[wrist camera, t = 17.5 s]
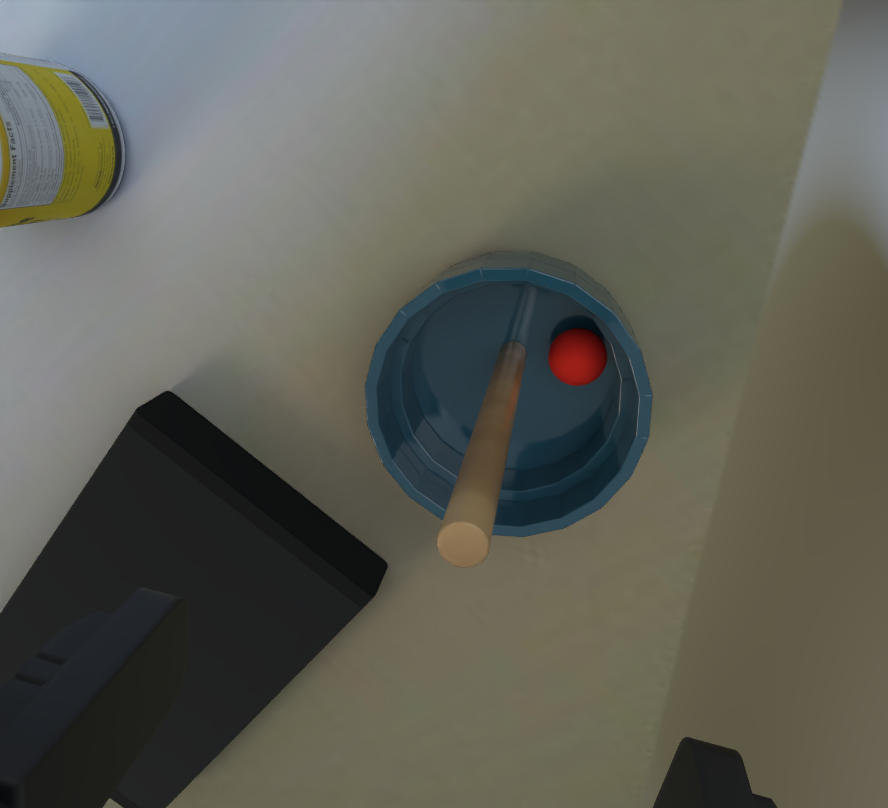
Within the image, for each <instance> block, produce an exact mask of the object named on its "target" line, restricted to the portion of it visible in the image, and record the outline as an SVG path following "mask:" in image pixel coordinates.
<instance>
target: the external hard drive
mask: <svg viewBox="0 0 888 808" xmlns="http://www.w3.org/2000/svg"><path fill="white" fill-rule="evenodd" d="M387 567H388V566H387V563H386V562H385V561H384V560H383V559H382V558H380V557H379V556H378V555H377V554H375V553H374V552H373V551H371V550H370V549H369V548H368V547H366V546H365V545H364V544H363V543H361V542H360V541H359V540H358V539H356V538H355V537H354V536H353V535H351V534H350V533H349V532H348V531H346V530H345V529H344V528H343V527H341V526H340V525H339V524H337V523H336V522H335V521H334V520H332V519H331V518H330V517H329V516H327V515H326V514H325V513H324V512H322V511H321V510H320V509H319V508H317V507H316V506H315V505H314V504H312V503H311V502H310V501H308V500H307V499H306V498H305V497H303V496H302V495H301V494H300V493H298V492H297V491H296V490H295V489H293V488H292V487H291V486H290V485H288V484H287V483H286V482H285V481H283V480H282V479H281V478H279V477H278V476H277V475H276V474H274V473H273V472H272V471H271V470H269V469H268V468H267V467H266V466H264V465H263V464H262V463H261V462H259V461H258V460H257V459H256V458H254V457H253V456H252V455H250V454H249V453H248V452H247V451H245V450H244V449H243V448H242V447H240V446H239V445H238V444H237V443H235V442H234V441H233V440H232V439H230V438H229V437H228V436H227V435H225V434H224V433H223V432H222V431H220V430H219V429H218V428H216V427H215V426H214V425H213V424H211V423H210V422H209V421H208V420H206V419H205V418H204V417H203V416H201V415H200V414H199V413H198V412H196V411H195V410H194V409H193V408H191V407H190V406H189V405H187V404H186V403H185V402H184V401H182V400H181V399H180V398H179V397H177V396H176V395H175V394H174V393H172V392H170V391H165V392H163V393H162V394H160V395H158V396H157V397H155V398H153V399H152V400H150V401H148V402H147V403H145V404H143V405H142V406H140V407H138V408H137V409H136V411H135V412H134V414H133V415H132V417H131V418H130V420H129V421H128V423H127V424H126V426H125V427H124V429H123V430H122V432H121V433H120V435H119V436H118V438H117V439H116V441H115V442H114V444H113V445H112V447H111V448H110V450H109V451H108V453H107V454H106V456H105V457H104V459H103V460H102V462H101V463H100V465H99V466H98V468H97V469H96V471H95V472H94V474H93V475H92V477H91V478H90V480H89V481H88V483H87V484H86V486H85V487H84V489H83V490H82V492H81V493H80V495H79V496H78V498H77V499H76V501H75V502H74V504H73V505H72V507H71V508H70V510H69V511H68V513H67V514H66V516H65V517H64V519H63V520H62V522H61V523H60V525H59V526H58V528H57V529H56V531H55V532H54V534H53V535H52V537H51V538H50V540H49V541H48V543H47V544H46V546H45V547H44V549H43V550H42V552H41V553H40V555H39V556H38V558H37V559H36V561H35V562H34V564H33V565H32V567H31V568H30V570H29V571H28V573H27V574H26V576H25V577H24V579H23V580H22V582H21V583H20V585H19V586H18V588H17V589H16V591H15V592H14V594H13V595H12V597H11V598H10V600H9V601H8V603H7V604H6V606H5V607H4V609H3V610H2V612H1V613H0V688H1V687H2V686H3V685H4V684H5V683H6V682H7V681H8V680H9V679H10V678H14V677H15V676H16V674H17V672H18V671H19V670H20V669H21V668H22V667H23V666H24V665H25V664H26V663H27V662H28V661H29V660H30V659H31V658H32V657H36V656H37V655H38V652H39V651H40V650H41V649H42V648H43V647H44V646H45V645H46V644H47V643H48V642H49V641H50V640H51V639H52V638H53V637H55V636H56V635H57V634H58V633H59V632H60V631H61V630H62V629H63V628H64V627H66V626H68V625H70V624H72V623H74V622H76V621H78V620H80V619H82V618H84V617H86V616H88V615H89V614H91V613H93V612H95V611H97V610H99V611H102V612H106V613H110V614H113V613H114V612H115V611H116V610H117V609H118V608H119V607H120V606H121V605H122V603H123V602H124V601H125V600H126V599H127V598H128V597H129V596H130V595H131V594H132V593H133V592H135V591H136V590H137V589H139V588H141V587H145V588H148V589H152V590H156V591H159V592H163V593H167V594H170V595H174V596H178V597H181V598H185V599H187V600H188V603H189V625H188V642H187V659H186V672H185V678H184V682H183V685H182V688H181V691H180V694H179V696H178V698H177V700H176V702H175V704H174V706H173V708H172V710H171V711H170V713H169V714H168V716H167V717H166V718H165V720H164V721H163V723H162V724H161V725H160V727H159V728H158V730H157V731H156V733H155V734H154V735H153V737H152V738H151V740H150V741H149V742H148V744H147V745H146V747H145V748H144V750H143V751H142V752H141V754H140V755H139V757H138V758H137V759H136V761H135V762H134V764H133V765H132V767H131V768H130V769H129V771H128V772H127V774H126V775H125V776H124V778H123V779H122V781H121V782H120V784H119V785H118V786H117V788H116V789H115V791H114V792H113V793H112V795H111V796H110V798H111V799H112V800H114V801H115V802H117V803H118V804H119V805H121V806H122V807H124V808H166V807H167V806H168V805H169V804H170V803H171V802H172V801H173V800H174V799H175V798H176V797H177V796H178V795H179V794H180V793H181V792H182V791H183V790H184V789H185V788H186V787H187V786H188V785H189V783H190V782H191V781H192V780H193V779H194V778H195V777H196V776H197V775H198V774H199V773H200V772H201V771H202V770H203V769H204V768H205V767H206V766H207V765H208V764H209V763H210V762H211V761H212V760H213V759H214V758H215V757H216V756H217V755H218V754H219V753H220V752H221V751H222V750H223V749H224V748H225V747H226V746H227V745H228V744H229V743H230V742H231V741H232V740H233V739H234V738H235V737H236V736H237V735H238V734H239V733H240V732H241V731H242V730H243V729H244V728H245V727H246V726H247V725H248V724H249V723H250V722H251V721H252V720H253V719H254V718H255V717H256V716H257V715H258V714H259V713H260V712H261V711H262V710H263V709H264V708H265V707H266V706H267V705H268V704H269V703H270V702H271V701H272V700H273V699H274V698H275V697H276V696H277V694H278V693H279V692H280V691H281V690H282V689H283V688H284V687H285V686H286V685H287V684H288V683H289V682H290V681H291V680H292V679H293V678H294V677H295V676H296V675H297V674H298V673H299V672H300V671H301V670H302V669H303V668H304V667H305V666H306V665H307V664H308V663H309V662H310V661H311V660H312V659H313V658H314V657H315V656H316V655H317V654H318V653H319V652H320V651H321V650H322V649H323V648H324V647H325V646H326V645H327V644H328V643H329V642H330V641H331V640H332V639H333V638H334V637H335V636H336V635H337V634H338V633H339V632H340V631H341V630H342V629H343V628H344V627H345V626H346V625H347V624H348V623H349V622H350V621H351V620H352V619H353V618H354V617H355V616H356V615H357V614H358V613H359V612H360V611H361V610H362V609H363V608H364V606H365V605H366V604H367V603H368V602H369V601H370V600H371V599H372V598H373V597H374V596H375V595H376V593H377V591H378V588H379V586H380V584H381V581H382V579H383V577H384V574H385V572H386V570H387Z"/></svg>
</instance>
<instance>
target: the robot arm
mask: <svg viewBox="0 0 888 808" xmlns="http://www.w3.org/2000/svg"><path fill="white" fill-rule="evenodd" d="M188 625H189V603H188V600H187V599H185V598H181V597H178V596H174V595H170V594H167V593H163V592H159V591H156V590H152V589H148V588H145V587H141V588H139V589H137V590H136V591H135V592H133V593H132V594H131V595H130V596H129V597H128V598H127V599H126V600H125V601H124V602H123V603H122V605H121V606H120V607H119V608H118V609H117V610H116V611H115V612H114V613H113V614H110V613H106V612H102V611H99V610H97V611H95V612H93V613H91V614H89V615H88V616H86V617H84V618H82V619H80V620H78V621H76V622H74V623H72V624H70V625H68V626H66V627H64V628H63V629H62V630H61V631H60V632H59V633H58V634H57V635H56V636H55V637H53V638H52V639H51V640H50V641H49V642H48V643H47V644H46V645H45V646H44V647H43V648H42V649H41V650H40V651H39V652H38V655H37V656H36V657H32V658H31V659H30V660H29V661H28V662H27V663H26V664H25V665H24V666H23V667H22V668H21V669H20V670H19V671H18V672H17V674H16V676H15V677H14V678H10V679H9V680H8V681H7V682H6V683H5V684H4V685H3V686H2V687H1V688H0V808H103V806H104V805H105V803H106V802H107V800H108V799H109V798H110V796H111V795H112V793H113V792H114V791H115V789H116V788H117V786H118V785H119V784H120V782H121V781H122V779H123V778H124V776H125V775H126V774H127V772H128V771H129V769H130V768H131V767H132V765H133V764H134V762H135V761H136V759H137V758H138V757H139V755H140V754H141V752H142V751H143V750H144V748H145V747H146V745H147V744H148V742H149V741H150V740H151V738H152V737H153V735H154V734H155V733H156V731H157V730H158V728H159V727H160V725H161V724H162V723H163V721H164V720H165V718H166V717H167V716H168V714H169V713H170V711H171V710H172V708H173V706H174V704H175V702H176V700H177V698H178V696H179V694H180V691H181V688H182V685H183V682H184V678H185V672H186V659H187V642H188ZM653 808H777V806H776V805H775V804H774V802H773V801H772V799H770V798H767V797H763V796H759V795H756V794H752V791H751V788H750V784H749V780H748V777H747V773H746V770H745V767H744V763H743V760H742V757H741V755H740V754H739V753H738V752H737V751H736V750H733V749H729V748H726V747H722V746H719V745H715V744H711V743H708V742H704V741H700V740H696V739H693V738H689V737H685V738H684V739H683V740H682V741H681V742H680V745H679V746H678V749H677V751H676V753H675V756H674V758H673V761H672V763H671V766H670V768H669V770H668V772H667V775H666V777H665V780H664V782H663V784H662V787H661V789H660V791H659V794H658V796H657V799H656V801H655V803H654V806H653Z"/></svg>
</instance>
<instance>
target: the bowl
mask: <svg viewBox="0 0 888 808" xmlns="http://www.w3.org/2000/svg"><path fill="white" fill-rule="evenodd" d="M573 328H584V329H588V330H590V331H592V332H594V333H595V334H597V335H598V336H599V337H600V338H601V340H602V341H603V343H604V344H605V347H606V350H607V363H606V366H605V369H604V371H603V372H602V374H601V375H600V376H599V377H598V378H597V379H596V380H594V381H593V382H591V383H589V384H586V385H581V386H573V385H569V384H566V383H564V382H562V381H560V380H559V379H558V378H557V377H556V376H555V375H554V373H553V372H552V370H551V368H550V365H549V360H548V355H549V350H550V346H551V344H552V343H553V341H554V340H555V338H556V337H557V336H558V335H559V334H561V333H562V332H564V331H566V330H569V329H573ZM509 341H517V342H519V343H521V344H522V345H523V346H524V347H525V348H526V351H527V358H526V363H525V368H524V373H523V378H522V384H521V389H520V394H519V399H518V404H517V409H516V414H515V419H514V424H513V430H512V435H511V440H510V445H509V450H508V455H507V460H506V465H505V471H504V476H503V481H502V486H501V491H500V496H499V501H498V506H497V512H496V517H495V522H494V527H493V532H492V535H501V536H516V537H526V536H531V535H535V534H540V533H544V532H549V531H554V530H558V529H563V528H566V527H568V526H570V525H572V524H573V523H575V522H577V521H579V520H581V519H583V518H584V517H586V516H588V515H590V514H592V513H593V512H595V511H597V510H599V509H601V508H602V507H603V506H604V505H605V504H606V503H607V502H608V501H609V500H610V499H611V498H612V497H613V496H614V494H615V493H616V492H617V491H618V490H619V489H620V488H621V487H622V486H623V485H624V484H625V483H626V482H627V481H628V480H629V479H630V477H631V476H632V474H633V472H634V470H635V467H636V465H637V463H638V461H639V459H640V457H641V454H642V452H643V450H644V448H645V446H646V443H647V441H648V437H649V432H650V421H651V409H652V397H653V395H652V390H651V386H650V382H649V378H648V375H647V371H646V367H645V363H644V360H643V356H642V352H641V350H640V347H639V344H638V342H637V339H636V336H635V334H634V331H633V328H632V326H631V324H630V322H629V320H628V319H627V317H626V316H625V314H624V313H623V311H622V310H621V308H620V307H619V305H618V304H617V303H616V301H615V300H614V298H613V297H612V295H611V294H610V292H609V291H607V289H606V288H605V287H603V286H602V285H601V284H599V283H598V282H597V281H595V280H594V279H593V278H591V277H590V276H589V275H587V274H586V273H585V272H583V271H582V270H581V269H579V268H578V267H577V266H574V265H573V264H570V263H567V262H564V261H561V260H558V259H555V258H552V257H549V256H546V255H543V254H540V253H537V252H535V253H534V252H493V253H491V252H490V253H487V254H484V255H481V256H478V257H475V258H472V259H469V260H466V261H463V262H460V263H457V264H455V265H454V266H451V267H450V268H448V269H447V270H446V271H444V272H443V273H442V274H440V275H439V276H438V277H436V278H435V279H434V280H432V281H431V282H430V283H428V284H427V285H426V286H424V287H423V288H422V289H421V290H420V291H419V292H418V293H417V294H416V295H415V296H414V297H412V298H411V299H410V300H409V301H408V302H407V303H406V304H405V305H404V306H403V307H402V308H401V309H400V310H399V311H398V313H397V314H396V316H395V317H394V319H393V320H392V321H391V323H390V324H389V326H388V327H387V329H386V330H385V332H384V333H383V335H382V336H381V338H380V339H379V341H378V342H377V344H376V346H375V349H374V353H373V357H372V360H371V364H370V368H369V371H368V375H367V379H366V382H365V397H366V413H367V425H368V429H369V431H370V434H371V436H372V439H373V441H374V444H375V446H376V449H377V451H378V454H379V456H380V459H381V461H382V463H383V465H384V467H385V468H386V469H387V470H388V472H389V473H390V474H391V475H392V477H393V478H394V479H395V480H396V482H397V483H398V484H399V485H400V487H401V488H402V489H403V490H404V492H405V493H406V494H407V495H408V496H409V497H410V498H411V499H413V500H414V501H416V502H417V503H418V504H420V505H421V506H423V507H424V508H426V509H427V510H428V511H430V512H431V513H433V514H434V515H436V516H437V517H438V518H440V519H441V520H442V519H444V516H445V513H446V510H447V507H448V504H449V501H450V498H451V495H452V492H453V489H454V486H455V483H456V480H457V477H458V474H459V471H460V468H461V465H462V462H463V459H464V456H465V453H466V450H467V447H468V444H469V441H470V438H471V435H472V432H473V429H474V426H475V423H476V420H477V417H478V414H479V412H480V409H481V406H482V403H483V400H484V397H485V394H486V391H487V388H488V385H489V382H490V379H491V376H492V373H493V370H494V367H495V364H496V361H497V358H498V355H499V352H500V349H501V347H502V346H503V345H504V344H505V343H507V342H509Z"/></svg>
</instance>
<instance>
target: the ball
mask: <svg viewBox="0 0 888 808" xmlns="http://www.w3.org/2000/svg"><path fill="white" fill-rule="evenodd" d="M548 360H549V365H550V368H551V370H552V372H553V373H554V375H555V376H556V377H557V378H558V379H559V380H560V381H562V382H564V383H566V384H569V385H573V386H581V385H586V384H589V383H591V382H593V381H594V380H596V379H597V378H598V377H599V376H600V375H601V374H602V372H603V371H604V369H605V366H606V363H607V350H606V347H605V344H604V343H603V341H602V340H601V338H600V337H599V336H598V335H597V334H595V333H594V332H592V331H590V330H588V329H584V328H573V329H569V330H566V331H564V332H562V333H561V334H559V335H558V336H557V337H556V338H555V340H554V341H553V343H552V344H551V346H550V350H549V355H548Z"/></svg>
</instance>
